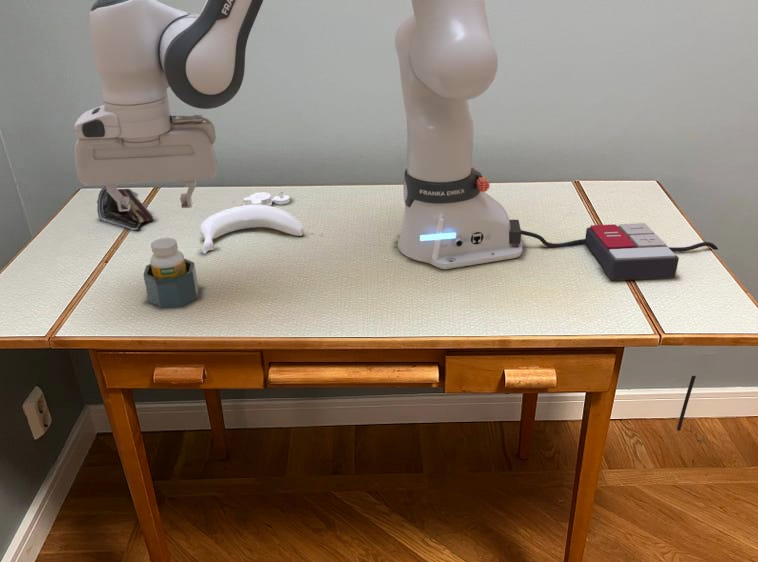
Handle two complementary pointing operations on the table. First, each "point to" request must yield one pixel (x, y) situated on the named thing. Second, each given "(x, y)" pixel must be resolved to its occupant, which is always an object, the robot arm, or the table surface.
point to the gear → (265, 199)
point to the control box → (631, 252)
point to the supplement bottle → (167, 259)
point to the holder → (172, 287)
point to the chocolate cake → (122, 218)
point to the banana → (247, 222)
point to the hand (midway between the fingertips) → (156, 208)
